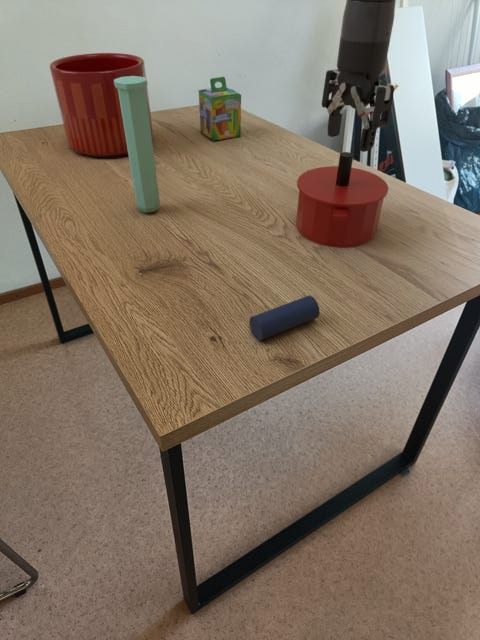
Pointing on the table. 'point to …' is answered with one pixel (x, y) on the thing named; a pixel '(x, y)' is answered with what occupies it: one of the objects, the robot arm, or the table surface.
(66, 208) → the table surface
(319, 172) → the pot lid
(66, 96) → the planter
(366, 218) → the pot
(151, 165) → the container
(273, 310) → the tube
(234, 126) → the chalk box
